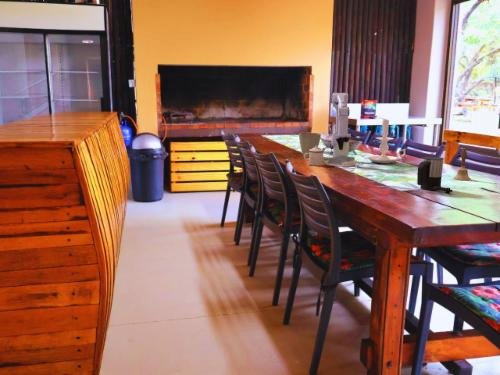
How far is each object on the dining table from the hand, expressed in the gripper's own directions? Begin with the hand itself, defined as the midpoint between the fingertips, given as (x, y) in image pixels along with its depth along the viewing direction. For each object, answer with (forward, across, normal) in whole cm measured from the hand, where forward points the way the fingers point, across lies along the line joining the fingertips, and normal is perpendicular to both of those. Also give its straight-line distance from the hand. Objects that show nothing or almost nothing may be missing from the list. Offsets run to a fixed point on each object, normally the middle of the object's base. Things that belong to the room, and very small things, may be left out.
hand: (342, 149), depth 281 cm
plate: (+3, 0, 0) cm, 3 cm away
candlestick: (+10, +28, -14) cm, 33 cm away
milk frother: (+10, -30, -74) cm, 80 cm away
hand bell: (+10, +7, -70) cm, 71 cm away
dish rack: (+9, 0, 0) cm, 9 cm away
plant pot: (+10, +11, +34) cm, 37 cm away
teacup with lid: (+10, -13, +12) cm, 20 cm away
